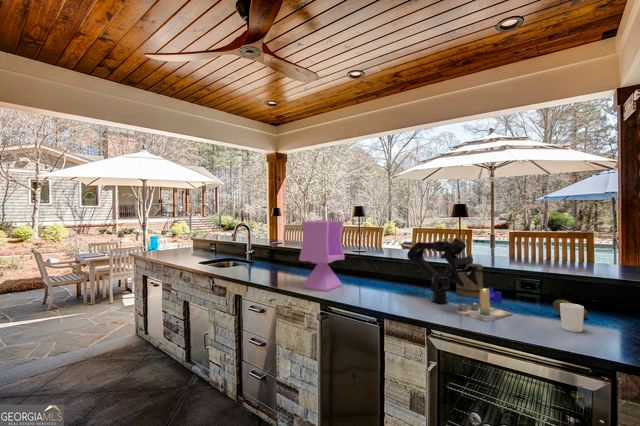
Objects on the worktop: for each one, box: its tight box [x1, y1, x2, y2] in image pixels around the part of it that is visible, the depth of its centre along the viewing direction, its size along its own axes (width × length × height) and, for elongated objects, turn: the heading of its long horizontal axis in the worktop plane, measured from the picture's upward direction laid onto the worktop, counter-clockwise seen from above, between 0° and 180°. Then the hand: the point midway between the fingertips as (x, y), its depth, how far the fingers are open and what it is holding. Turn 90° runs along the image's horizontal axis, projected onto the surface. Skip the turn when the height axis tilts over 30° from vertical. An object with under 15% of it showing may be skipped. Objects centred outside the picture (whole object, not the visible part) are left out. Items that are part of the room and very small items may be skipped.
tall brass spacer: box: [479, 287, 491, 316], centre depth 147 cm, size 4×4×12 cm
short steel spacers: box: [459, 298, 491, 312], centre depth 156 cm, size 8×18×4 cm, turn 118°
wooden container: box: [455, 262, 484, 298], centre depth 191 cm, size 15×15×22 cm
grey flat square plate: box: [472, 312, 498, 319], centre depth 146 cm, size 8×8×1 cm
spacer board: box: [455, 305, 513, 323], centre depth 152 cm, size 16×20×1 cm
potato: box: [552, 298, 589, 319], centre depth 146 cm, size 8×13×8 cm, turn 54°
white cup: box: [560, 302, 585, 333], centre depth 131 cm, size 8×8×10 cm
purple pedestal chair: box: [298, 220, 346, 293], centre depth 213 cm, size 22×22×45 cm
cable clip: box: [487, 287, 502, 304], centre depth 177 cm, size 12×4×6 cm, turn 172°
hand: (470, 285), depth 154 cm, fingers open, 9 cm apart
